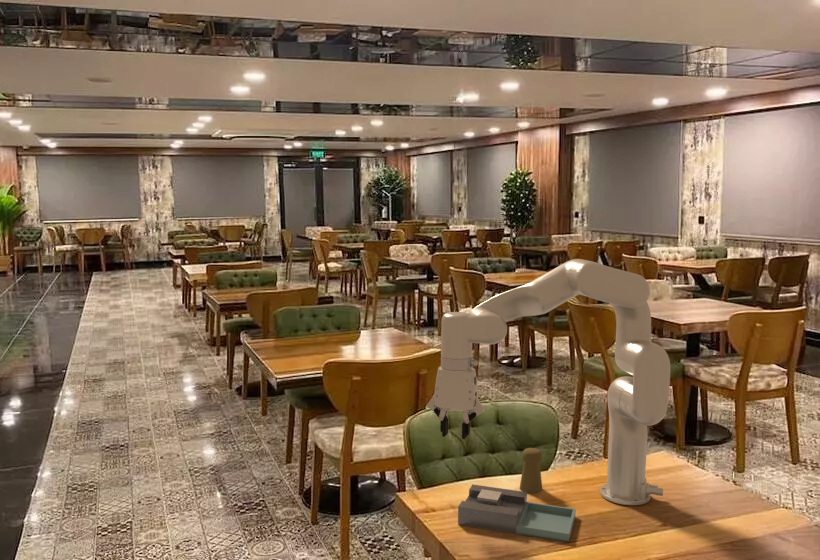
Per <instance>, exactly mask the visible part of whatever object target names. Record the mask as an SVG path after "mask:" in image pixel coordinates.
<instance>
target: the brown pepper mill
mask: <svg viewBox="0 0 820 560" xmlns="http://www.w3.org/2000/svg"><path fill="white" fill-rule="evenodd" d="M521 455H522V460H523V466H522V471H521V478H520V484H519V491H523V492H527V494H530V495H532V494H540V493H541V492H542V491H543V482H542V472H541V463H540V462H541V461H542V459H543V454H542V451H541V450H540V449H538V448H536V447H534V448H533V447H527V448H525V449H523V451H522V454H521Z"/></svg>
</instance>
